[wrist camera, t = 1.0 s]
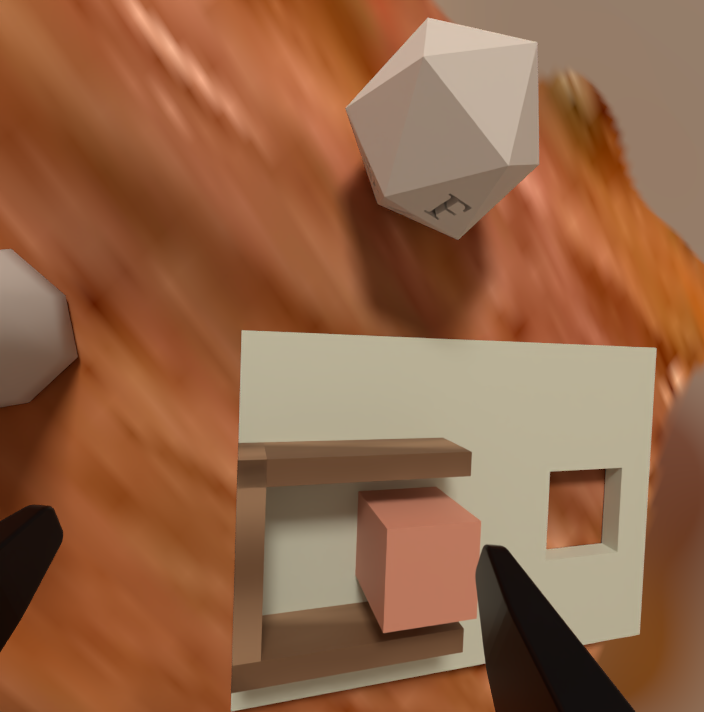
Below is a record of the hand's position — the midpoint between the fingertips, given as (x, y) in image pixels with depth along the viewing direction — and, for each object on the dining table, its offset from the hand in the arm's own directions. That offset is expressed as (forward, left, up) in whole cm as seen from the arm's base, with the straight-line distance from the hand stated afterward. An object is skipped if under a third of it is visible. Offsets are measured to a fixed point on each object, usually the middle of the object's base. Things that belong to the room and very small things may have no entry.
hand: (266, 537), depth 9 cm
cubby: (-6, -5, -12) cm, 14 cm away
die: (+14, -8, -13) cm, 21 cm away
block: (-6, -8, -12) cm, 15 cm away
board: (-5, -12, -13) cm, 19 cm away
